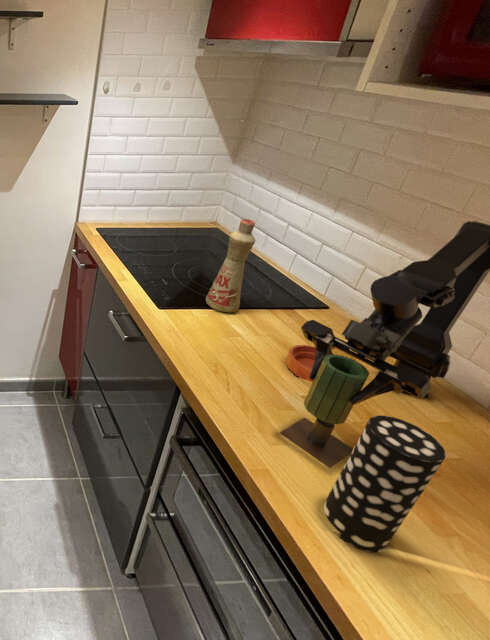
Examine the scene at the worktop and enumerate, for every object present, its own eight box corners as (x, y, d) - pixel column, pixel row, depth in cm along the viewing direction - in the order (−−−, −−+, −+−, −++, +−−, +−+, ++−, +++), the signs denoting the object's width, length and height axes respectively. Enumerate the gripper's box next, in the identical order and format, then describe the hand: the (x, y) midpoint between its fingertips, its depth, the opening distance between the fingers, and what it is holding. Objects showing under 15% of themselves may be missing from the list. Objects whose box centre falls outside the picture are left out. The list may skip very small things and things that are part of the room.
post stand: (302, 420, 93) (312, 399, 91) (353, 453, 86) (365, 430, 83) (277, 436, 89) (287, 413, 87) (328, 471, 82) (340, 448, 80)
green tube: (299, 395, 89) (318, 351, 84) (338, 403, 87) (360, 359, 82) (310, 418, 83) (331, 372, 79) (351, 428, 81) (375, 381, 77)
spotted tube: (399, 543, 70) (460, 454, 62) (362, 559, 68) (420, 468, 60) (344, 496, 78) (393, 410, 69) (309, 509, 75) (354, 421, 67)
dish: (278, 351, 114) (282, 340, 112) (335, 362, 110) (340, 351, 109) (294, 383, 103) (299, 371, 102) (357, 396, 100) (363, 384, 98)
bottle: (245, 314, 129) (275, 225, 117) (213, 314, 129) (240, 225, 118) (229, 298, 137) (255, 214, 125) (199, 298, 137) (223, 213, 125)
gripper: (323, 283, 85) (270, 345, 85) (454, 337, 70) (389, 412, 70) (332, 308, 92) (282, 366, 92) (453, 363, 76) (393, 432, 76)
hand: (330, 390), depth 82 cm, fingers closed on green tube, 6 cm apart
